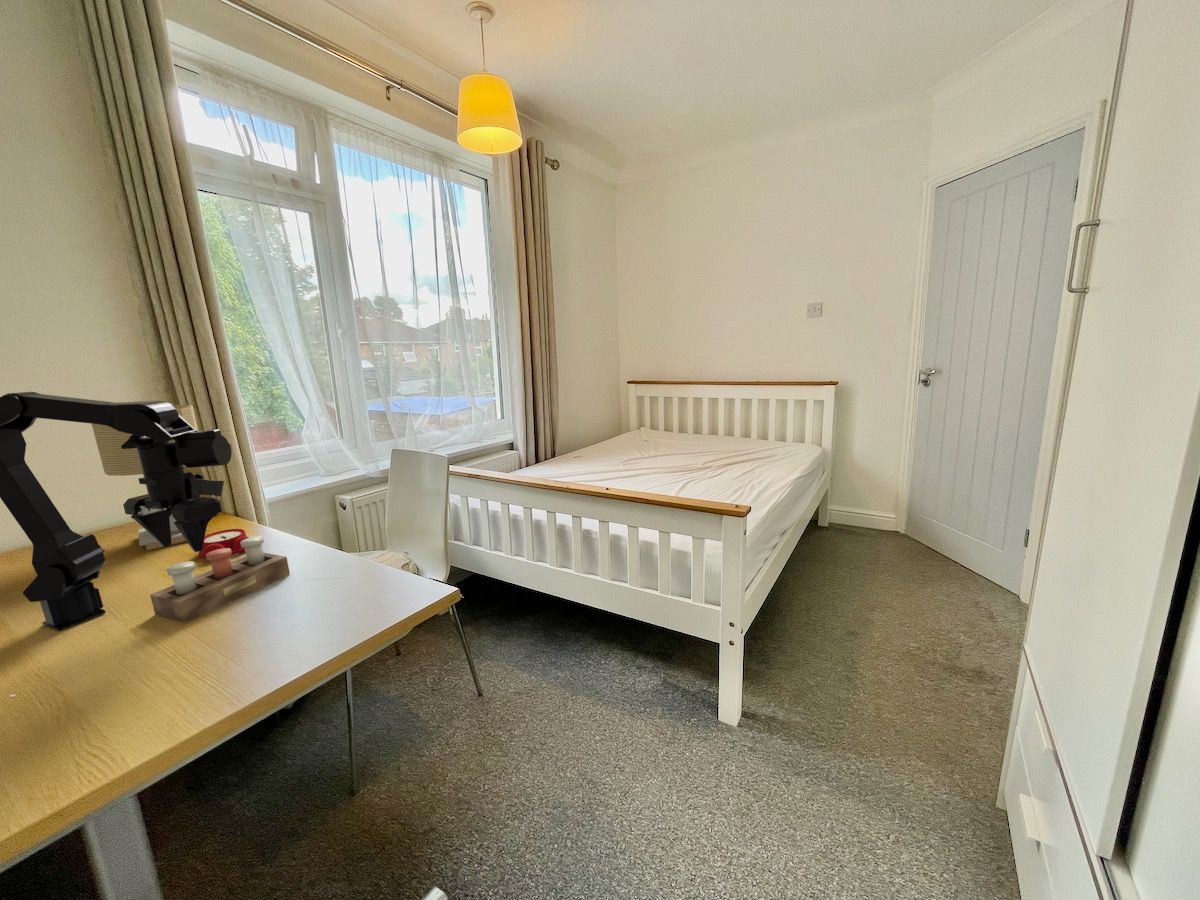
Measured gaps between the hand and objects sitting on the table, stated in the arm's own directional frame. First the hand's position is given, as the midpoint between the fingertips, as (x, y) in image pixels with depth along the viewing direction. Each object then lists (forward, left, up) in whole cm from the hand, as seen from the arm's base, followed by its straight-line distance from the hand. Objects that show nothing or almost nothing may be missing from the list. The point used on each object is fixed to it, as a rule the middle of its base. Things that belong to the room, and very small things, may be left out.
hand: (182, 548), depth 91 cm
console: (+5, -1, -12) cm, 13 cm away
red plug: (+5, -1, -8) cm, 9 cm away
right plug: (+11, -1, -8) cm, 14 cm away
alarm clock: (+19, +23, -12) cm, 32 cm away
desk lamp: (+21, +49, -12) cm, 54 cm away
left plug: (-1, -1, -8) cm, 8 cm away
